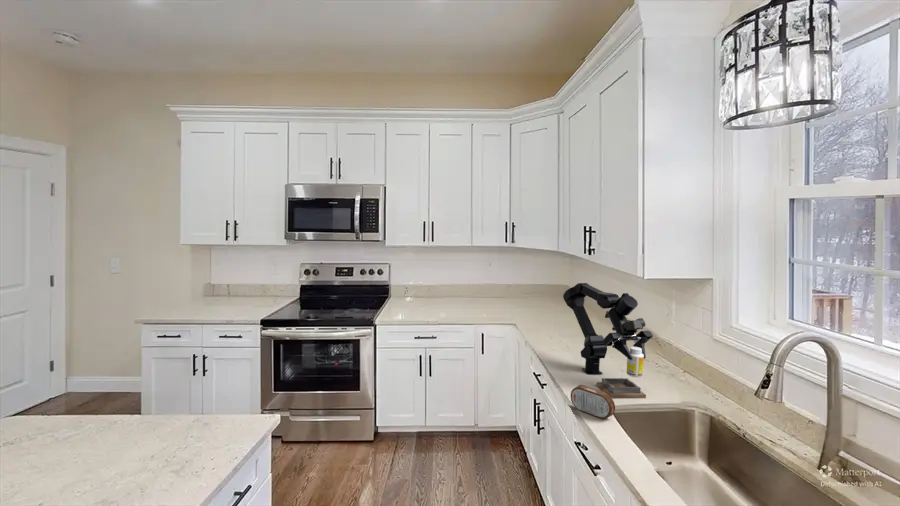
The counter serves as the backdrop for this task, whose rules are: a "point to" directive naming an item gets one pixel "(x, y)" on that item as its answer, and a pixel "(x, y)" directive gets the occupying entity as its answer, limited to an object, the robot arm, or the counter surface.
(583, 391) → the tin
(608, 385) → the collar base
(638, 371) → the supplement bottle
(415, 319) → the counter surface
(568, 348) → the counter surface
